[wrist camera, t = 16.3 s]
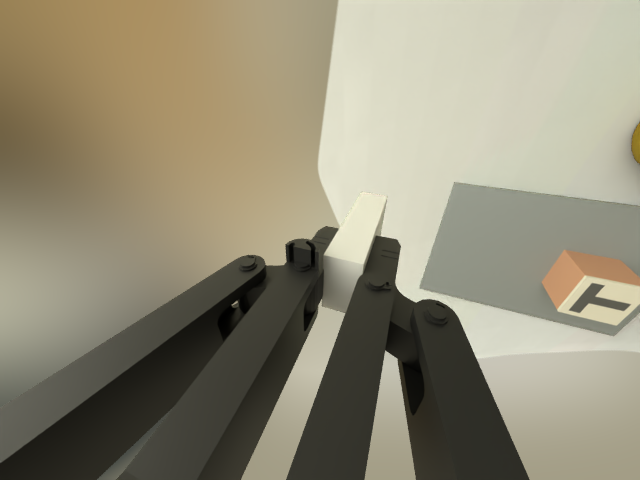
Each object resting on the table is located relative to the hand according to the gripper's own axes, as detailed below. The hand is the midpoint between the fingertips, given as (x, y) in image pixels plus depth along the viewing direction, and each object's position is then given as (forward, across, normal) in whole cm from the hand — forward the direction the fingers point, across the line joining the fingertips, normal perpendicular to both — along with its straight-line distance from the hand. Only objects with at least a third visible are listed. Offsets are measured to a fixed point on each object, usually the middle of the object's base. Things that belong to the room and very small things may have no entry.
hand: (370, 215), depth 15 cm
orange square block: (+18, +27, -15) cm, 36 cm away
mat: (+24, +22, -15) cm, 36 cm away
